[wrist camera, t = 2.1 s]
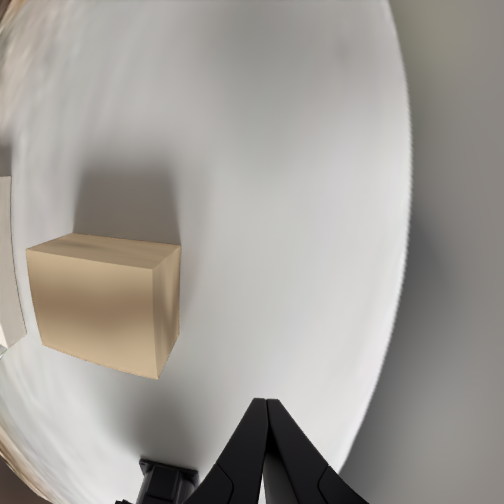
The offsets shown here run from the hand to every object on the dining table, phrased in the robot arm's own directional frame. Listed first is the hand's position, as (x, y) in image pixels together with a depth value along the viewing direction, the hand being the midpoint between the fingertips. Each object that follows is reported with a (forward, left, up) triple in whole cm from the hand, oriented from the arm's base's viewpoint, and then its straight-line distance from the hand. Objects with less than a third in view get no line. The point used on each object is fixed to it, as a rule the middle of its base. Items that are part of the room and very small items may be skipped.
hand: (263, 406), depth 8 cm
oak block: (0, +9, -9) cm, 12 cm away
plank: (0, +22, -9) cm, 24 cm away
